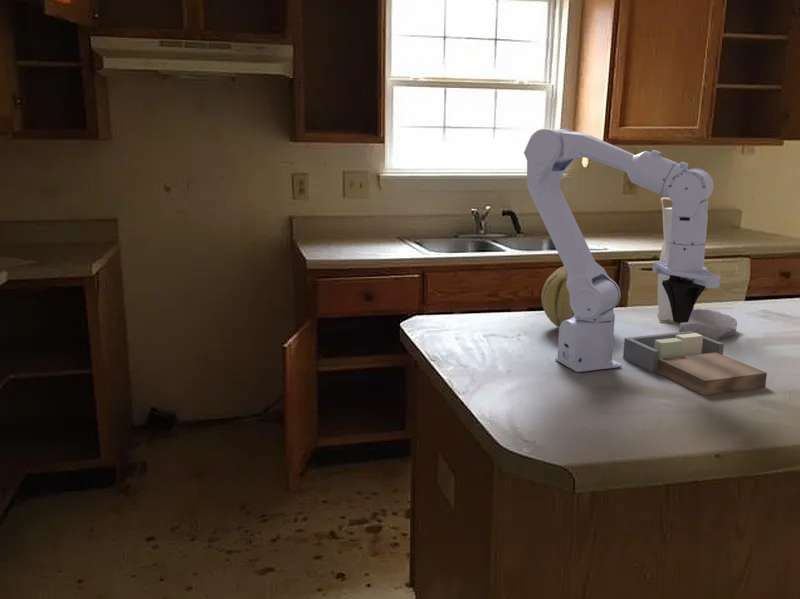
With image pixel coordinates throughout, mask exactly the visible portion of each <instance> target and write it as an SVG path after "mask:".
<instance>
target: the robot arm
mask: <svg viewBox="0 0 800 599" xmlns="http://www.w3.org/2000/svg"><path fill="white" fill-rule="evenodd" d="M523 154H524V156H525V158H526V187H527V190H528V192H529V195H530V196H531V199H532V201H533V203H534V205H535V207H536V209H537V212H538V213H539V216H540V217H541V219H542V222H543V224H544V226H545V229H546V230H547V232H548V235H549V237H550V238H551V242H552V243H553V245H554V248H555V249H556V252H557V253H558V256H559V258H560V260H561V262H562V264H563V266H565V269H566V271H567V273H568V277H567V284H566V287H567V289H568V291H569V294H570V306H571V309H572V311H573V312H574V317H572V318H571V319H568V320H564V321H563V322H562V323H561V325H560V327H558V341H557V356H556V357H555V360H556V361H557V362H559V363H561V364H563V365H564V366H566V367H568V368H569V369H571V370H572V371H575V372H577V373H581V372H582V373H583V372H589V371H598V370H608V369H615V368H621V367H622V366H623V365H622V364H621V363H620V362H619V361H616V360H614V359H613V350H614V337H615V336H614V335H615V334H614V333H615V318H616V316H615V312H614V308H616V307H617V306H618V304H619V302H620V301H621V300H620V299H621V294H622V293H621V289H620V287H619V285H618V283H616V281H615V280H613V279H612V278H610V276H609V275H608V273H607V271H606V269H605V267H603V266H602V265H600V264H599V263H597V261H595V257H594V256H593V254H592V252H591V250H590V248H589V246H588V244H587V241H586V239H585V237H584V235H583V233H582V230H581V229H580V227H579V225H578V222H577V221H576V218H575V216H574V215H573V211H572V210H571V208H570V206H569V204H568V202H567V200H566V198H565V196H564V193H563V192H562V189H561V187H560V183H561V180H562V178H563V176H564V173H565V171H566V169H567V168H569V166H570V165H571V163H572V162H573V161H574V160H575V159H581V158H586V159H588V160H592V161H594V162H598V163H599V164H603V165H605V166H609V167H611V168H613V169H616V170H619V171H622V172H625V173H626V174H627V176H628V179H629V181H630V183H632V184H634V185H637V186H639V187H642V188H644V189H647V190H649V191H652V192H654V193H655V194H658V195H661V196H662V197H669V198H670V199H671V200H670V201H671V207H672V214H671V220H670V233H669V246H668V260H667V262H663V261H661V262H659V261H653V262H652V270H651V271H652V273H653V274H656V275H658V273H660V274H663V275H667V276H670V278H669V279H668V280H663V281H662V285H663V287H664V289H665V291H666V293H667V295H668V298H669V302H670V306H671V311H672V316H673V321H674V322H677V323H685V322H688V321H689V318H690V315H691V312H692V310H693V308H694V307H695V305H696V302H697V301H698V299H699V297H700V295H701V294H702V293H703V291H704V290H705V289H709V290H710V289H719V288H720V286H721V285H720V284H721V276H720V275H717V274H715V273H713V272H710V271H709V270H708V267H705V266H704V265H705V254H706V242H707V231H708V218H709V216H708V210H709V198H710V196H711V195H712V194H713V192H714V188H715V185H714V180H713V178H712V176H711V174H709V173H708V172H707V171H705V170H703V168H701V167H693V168H689V169H688V166H689V163H687V162H685V161H681V162H680V163H679V162H676V161H673V160H671V159H669V158H666V157H664V156H662V151H659V150H655V149H654V150H653V149H652V150H651V152H650V151H648V150H644V151H642V152H640V153H637V154H634V153H631V152H630V151H628V150H625V149H623V148H620V147H618V146H616V145H613V144H611V143H609V142H606V141H604V140H603V139H602V140H601V139H599V138H598V137H595V136H593V135H592V134H591V135H590V134H588V133H584V132H580V131H574V130H572V129H569V128H559V129H558V128H557V129H554V128H553V129H550V128H541V129H538V130H536V131H535V132H534V133H533V134H532V135H531V136H530V138H529V140H528V142H527V145H526V147H525V149H524V151H523Z"/></svg>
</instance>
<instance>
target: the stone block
mask: <svg viewBox="0 0 800 599" xmlns="http://www.w3.org/2000/svg"><path fill="white" fill-rule="evenodd" d="M737 327H738V321H737V320H736V318H734V317H732V316H731V315H728V314H725V313H722V312H719V311H716V310H711V309H709V308H708V309H706V308H705V309H701V308H697V309H694V310H693V311H692V312H691V315H690V318H689V321H688V322H685V323H680V324H679V329H678V332H686V331H692V332H695V333H697V334H700V335H702V336H705V337H708V338H710V339H713V340H715V341H718V340H721V339H725V338H727V336H728V337H730V336H733V335H735V334H736V333H737ZM732 334H733V335H732Z"/></svg>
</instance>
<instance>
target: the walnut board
mask: <svg viewBox="0 0 800 599" xmlns="http://www.w3.org/2000/svg"><path fill="white" fill-rule="evenodd" d="M657 373H658V374H659V375H662V376H664V377H666V378H668V379H670V380H672V381H674V382H676V383H678V384H680V385H682V386H684V387H686V388H688V389H691V390H692V391H694V392H696V393H698V394H701V395H702V396H707V395H716V394H722V393H723V394H724V393H730V392H738V391H745V390H751V389H759V388H766V385H767V384H766V383H767V376H768V375H767V374H768V372H766V371H763V370H760V369H759V368H756V367H753V366H751V365H749V364H746V363H744V362H741V361H739V360H736V359H734V358H731V357H728V356H726V355H724V354H723V355H722V354H719V353H717V352H715V353H706V354H698V355H689V356H680V357H672V358H663V359H659V360H658V372H657Z"/></svg>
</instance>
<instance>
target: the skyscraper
mask: <svg viewBox="0 0 800 599" xmlns="http://www.w3.org/2000/svg"><path fill="white" fill-rule="evenodd" d="M664 200H669V201H671V199H670V198H669V196H662V197H661V198H660V202H661V207H662V224H663V225H662V228H663V231H662V232H663V243H662V245H661V246H662V247H661V251H660V256H659V261H658V262H661V261H663V262H667V260H668V246H669V233H670V220H671V214H672V206H671V207H665V206H664ZM669 278H670V276H667V275H663V274H660V273H658V274H657V309H658V310H657V312H658V313H657V318H658V321H659V323H660V324H671V325H672V324H673V325H680V323H677V322H674V321H673V316H672V311H671V306H670V302H669V298H668V295H667V293H666V291H665V289H664V287H663V285H662V281H663V280H668V279H669ZM693 310H695V308H694V307H693ZM693 310H692V311H693Z"/></svg>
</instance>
